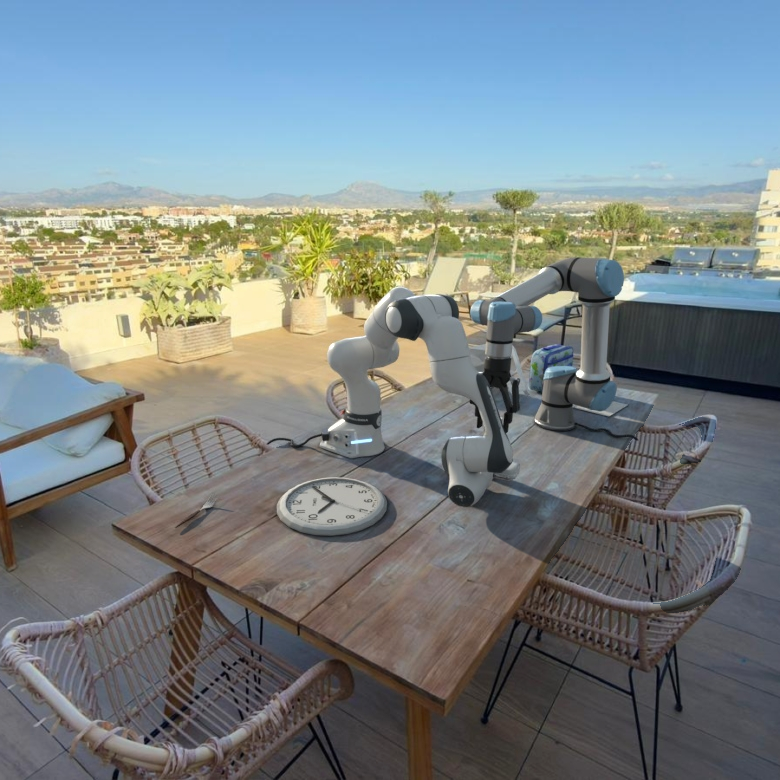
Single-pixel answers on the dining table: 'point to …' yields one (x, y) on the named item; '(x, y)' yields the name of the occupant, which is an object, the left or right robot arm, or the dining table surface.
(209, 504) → the fork
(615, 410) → the invitation card
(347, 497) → the wall clock
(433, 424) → the dining table surface
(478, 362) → the white plastic object
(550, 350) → the lunch box
